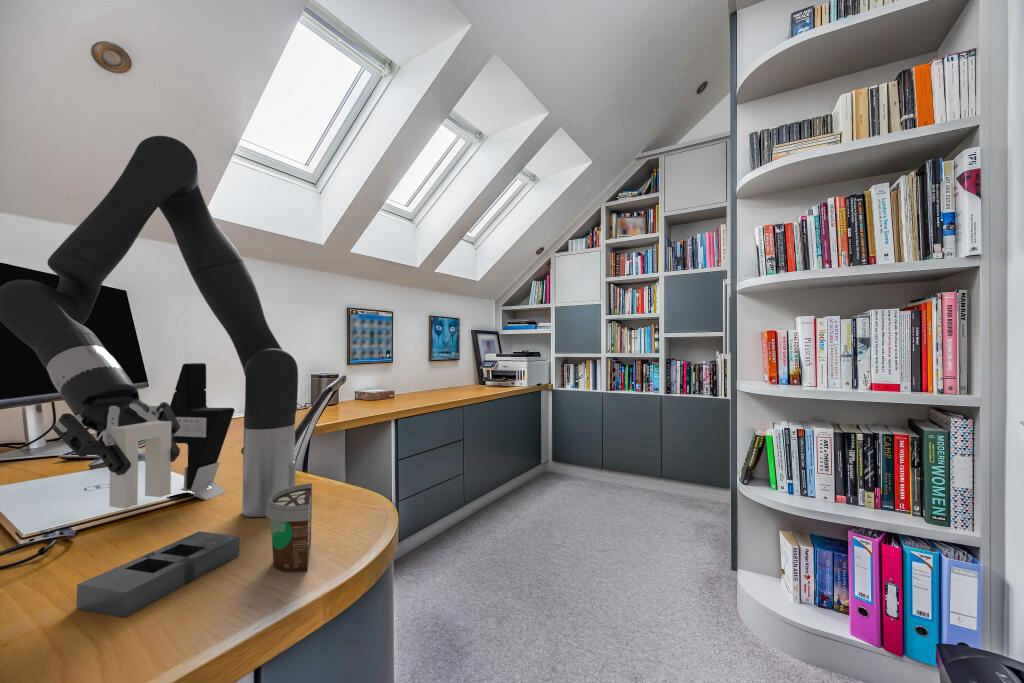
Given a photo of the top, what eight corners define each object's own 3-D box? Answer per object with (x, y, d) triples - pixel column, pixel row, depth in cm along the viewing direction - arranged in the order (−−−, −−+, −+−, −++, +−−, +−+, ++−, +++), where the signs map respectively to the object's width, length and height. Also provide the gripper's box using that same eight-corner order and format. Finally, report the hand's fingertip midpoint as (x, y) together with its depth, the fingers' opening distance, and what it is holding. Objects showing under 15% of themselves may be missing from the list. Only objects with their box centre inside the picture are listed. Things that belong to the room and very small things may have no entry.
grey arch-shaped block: (155, 492, 64) (156, 420, 64) (170, 493, 63) (171, 421, 63) (109, 506, 58) (110, 427, 58) (125, 508, 57) (126, 428, 57)
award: (155, 496, 93) (159, 363, 94) (178, 489, 98) (181, 362, 99) (214, 500, 90) (217, 363, 91) (234, 492, 96) (236, 363, 96)
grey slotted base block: (198, 549, 68) (199, 531, 68) (238, 555, 66) (239, 536, 66) (76, 608, 52) (77, 584, 52) (124, 617, 50) (124, 592, 50)
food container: (270, 547, 69) (271, 486, 69) (311, 540, 71) (312, 481, 71) (257, 585, 57) (259, 512, 58) (307, 575, 60) (308, 506, 60)
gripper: (42, 366, 56) (105, 460, 53) (157, 363, 70) (212, 437, 66) (14, 405, 57) (75, 498, 54) (133, 394, 71) (186, 468, 68)
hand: (150, 464), depth 60 cm, fingers closed on grey arch-shaped block, 6 cm apart
